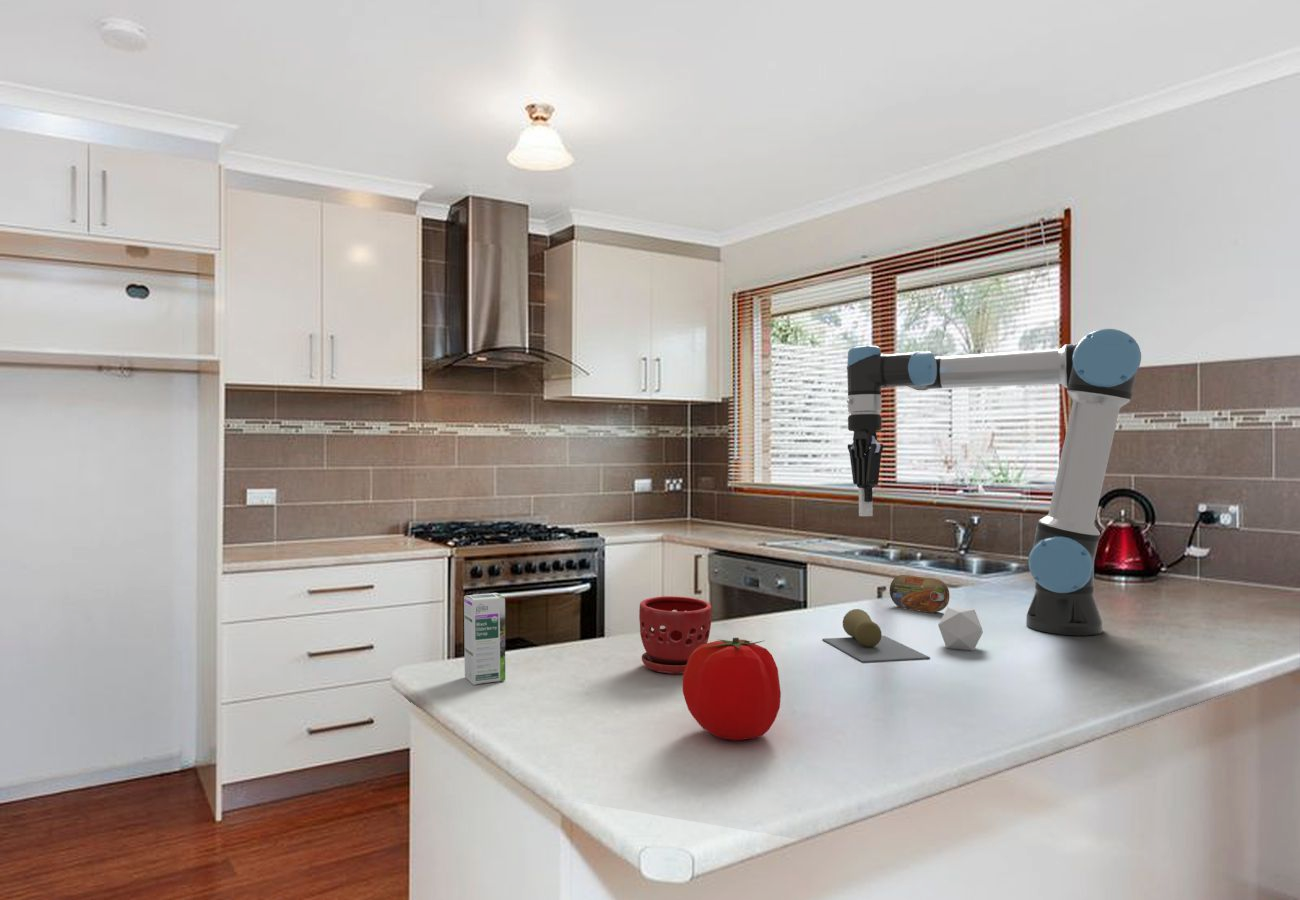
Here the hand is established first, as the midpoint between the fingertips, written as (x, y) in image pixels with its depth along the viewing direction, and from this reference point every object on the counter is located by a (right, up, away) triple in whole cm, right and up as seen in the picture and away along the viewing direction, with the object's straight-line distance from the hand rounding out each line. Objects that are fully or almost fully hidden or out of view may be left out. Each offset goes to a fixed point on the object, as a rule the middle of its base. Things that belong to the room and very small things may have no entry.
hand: (865, 515), depth 194 cm
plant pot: (-45, -25, -42) cm, 66 cm away
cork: (-6, -21, -17) cm, 28 cm away
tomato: (-38, -25, -75) cm, 88 cm away
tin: (+16, -24, +13) cm, 32 cm away
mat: (-5, -24, -27) cm, 37 cm away
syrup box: (-78, -25, -49) cm, 96 cm away
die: (+12, -25, -25) cm, 38 cm away
